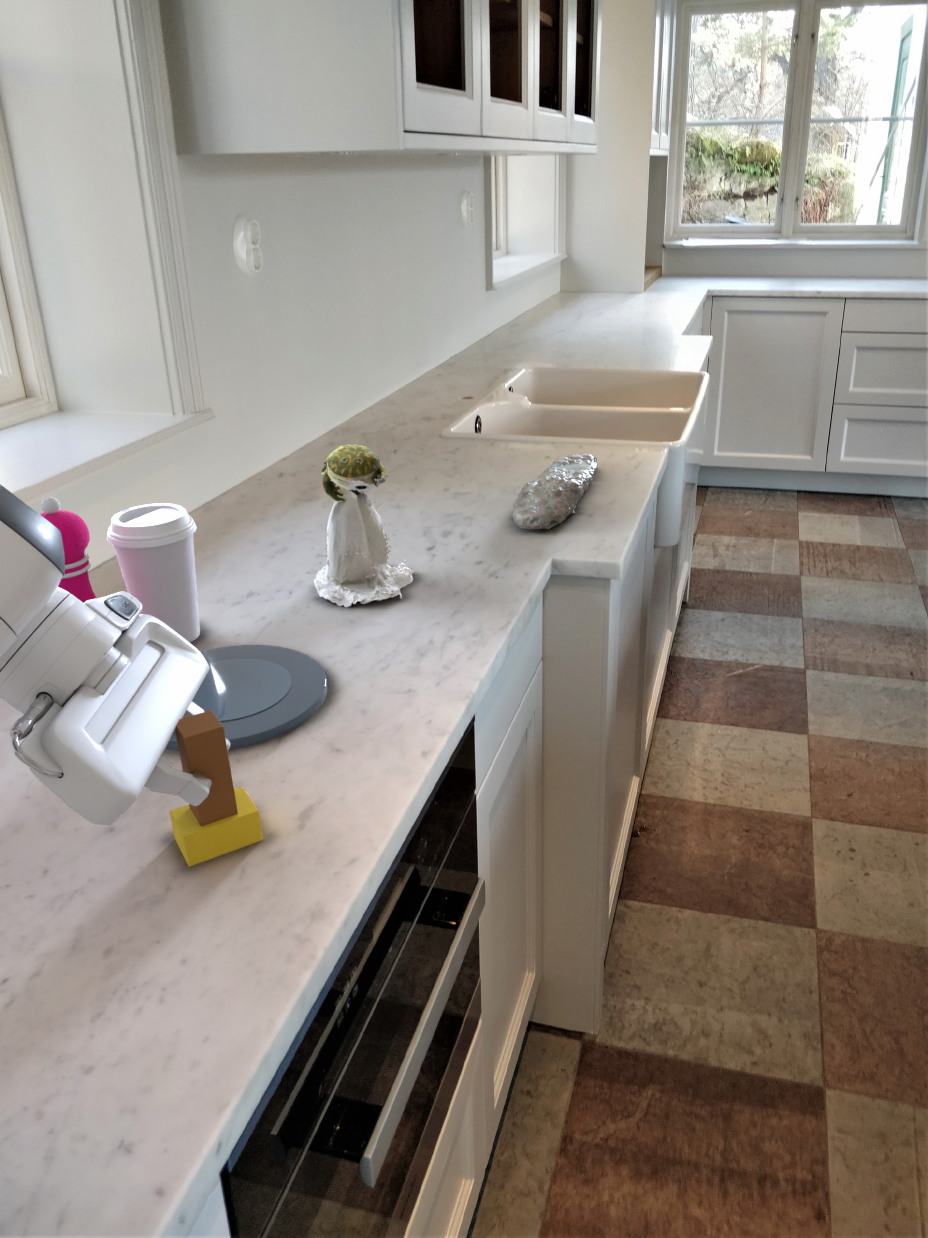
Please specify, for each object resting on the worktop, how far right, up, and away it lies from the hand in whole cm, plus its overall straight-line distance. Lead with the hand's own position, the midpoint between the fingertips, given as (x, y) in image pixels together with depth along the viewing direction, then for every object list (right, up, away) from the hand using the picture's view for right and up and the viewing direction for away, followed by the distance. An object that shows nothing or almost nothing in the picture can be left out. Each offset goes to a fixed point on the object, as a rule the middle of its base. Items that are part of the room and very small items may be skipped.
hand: (215, 774), depth 74 cm
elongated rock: (+34, +31, +78) cm, 91 cm away
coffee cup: (-15, +10, +37) cm, 41 cm away
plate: (-5, +4, +24) cm, 24 cm away
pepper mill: (-21, +6, +30) cm, 37 cm away
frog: (+7, +16, +49) cm, 52 cm away
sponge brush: (0, -6, +3) cm, 6 cm away
